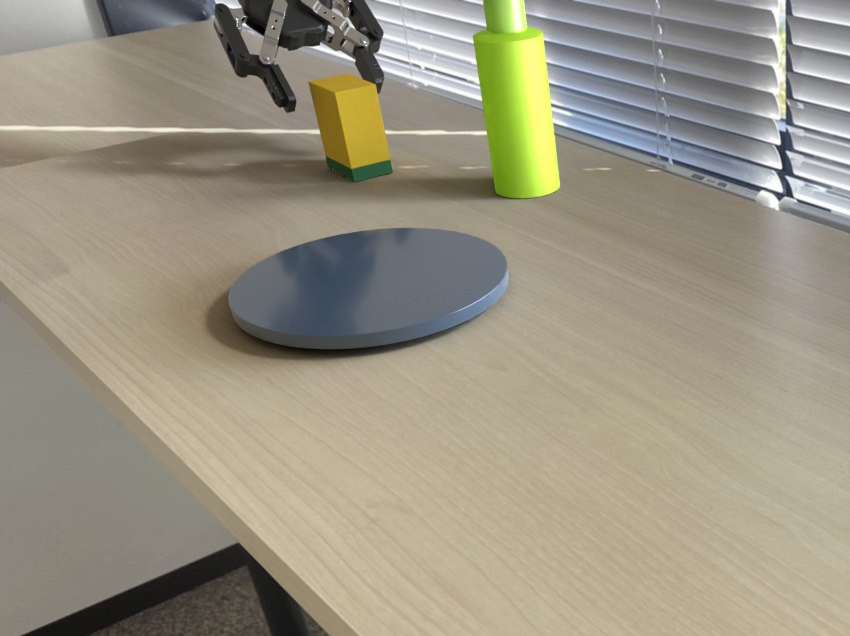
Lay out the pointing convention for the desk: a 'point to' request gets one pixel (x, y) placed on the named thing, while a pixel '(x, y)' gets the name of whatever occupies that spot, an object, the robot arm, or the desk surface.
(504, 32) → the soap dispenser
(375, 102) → the sponge
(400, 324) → the plate
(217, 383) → the desk surface
